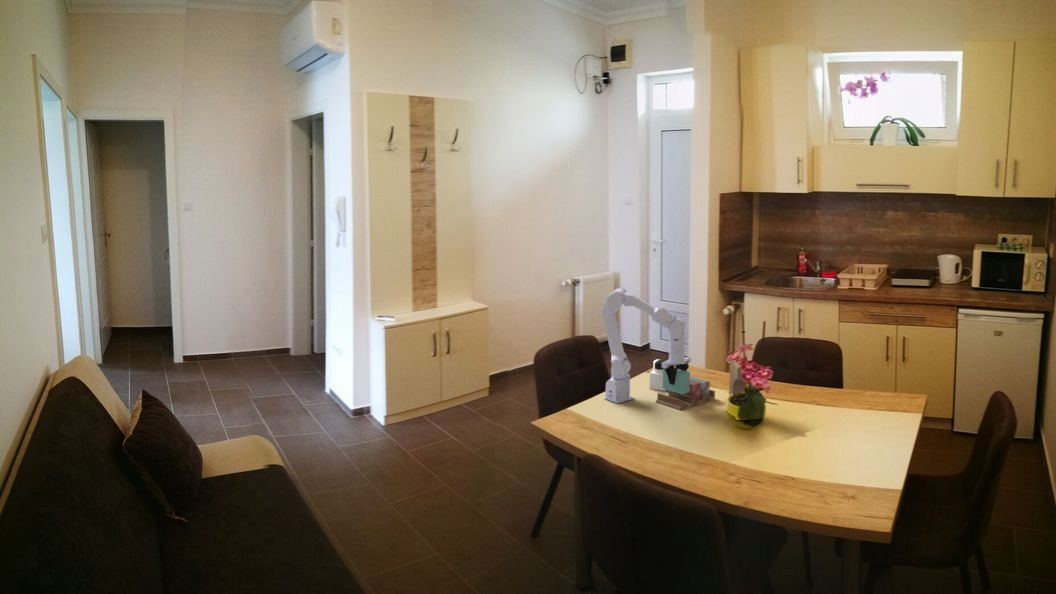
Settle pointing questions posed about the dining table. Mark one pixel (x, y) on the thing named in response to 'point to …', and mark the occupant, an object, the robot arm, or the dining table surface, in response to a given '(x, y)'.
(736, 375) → the decorative block
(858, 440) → the dining table surface
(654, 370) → the medicine bottle
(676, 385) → the teal book
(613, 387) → the robot arm
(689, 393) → the book rack
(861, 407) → the dining table surface
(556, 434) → the dining table surface
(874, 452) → the dining table surface
